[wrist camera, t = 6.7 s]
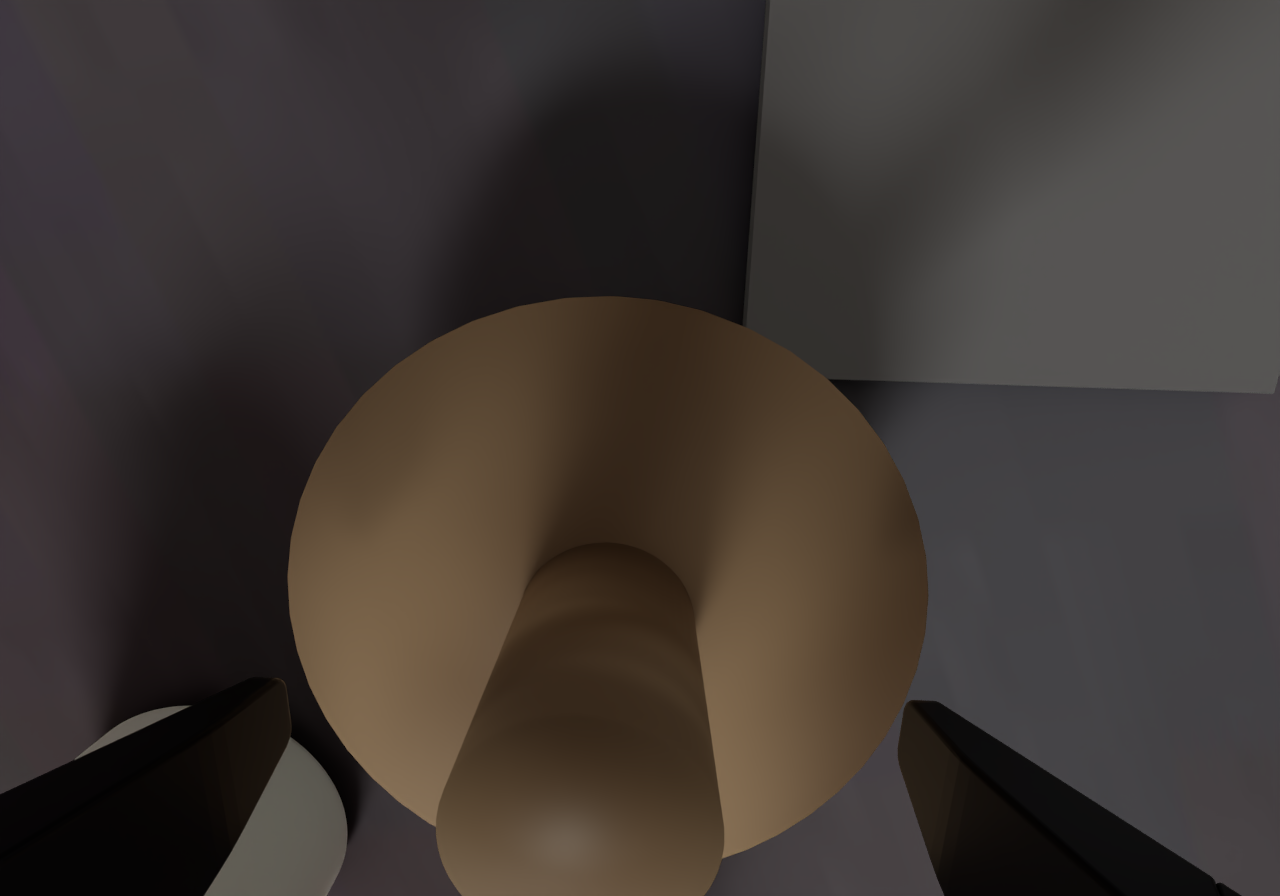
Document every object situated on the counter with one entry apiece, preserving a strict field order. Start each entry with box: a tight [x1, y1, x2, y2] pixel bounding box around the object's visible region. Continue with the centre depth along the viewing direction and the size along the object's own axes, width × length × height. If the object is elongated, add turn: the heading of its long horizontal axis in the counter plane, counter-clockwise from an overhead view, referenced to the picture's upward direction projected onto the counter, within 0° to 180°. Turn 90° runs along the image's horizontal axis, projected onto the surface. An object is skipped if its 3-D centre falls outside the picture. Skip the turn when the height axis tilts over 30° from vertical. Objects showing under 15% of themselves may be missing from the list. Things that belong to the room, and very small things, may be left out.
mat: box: [743, 0, 1280, 394], centre depth 14 cm, size 13×13×1 cm
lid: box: [288, 296, 928, 896], centre depth 9 cm, size 12×12×6 cm
